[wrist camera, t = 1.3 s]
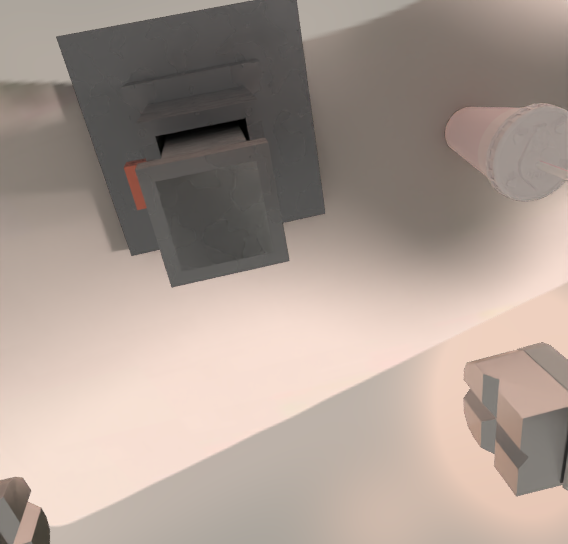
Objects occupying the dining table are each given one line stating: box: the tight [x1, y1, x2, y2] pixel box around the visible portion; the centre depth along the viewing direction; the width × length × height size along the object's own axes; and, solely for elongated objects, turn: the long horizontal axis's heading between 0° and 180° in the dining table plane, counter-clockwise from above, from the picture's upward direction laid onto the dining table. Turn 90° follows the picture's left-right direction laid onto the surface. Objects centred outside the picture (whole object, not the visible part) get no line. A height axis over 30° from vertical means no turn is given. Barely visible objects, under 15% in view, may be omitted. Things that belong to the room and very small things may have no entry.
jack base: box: [56, 0, 325, 256], centre depth 32 cm, size 16×16×12 cm
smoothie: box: [445, 103, 568, 201], centre depth 35 cm, size 6×6×14 cm
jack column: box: [135, 120, 289, 287], centre depth 28 cm, size 5×5×18 cm
